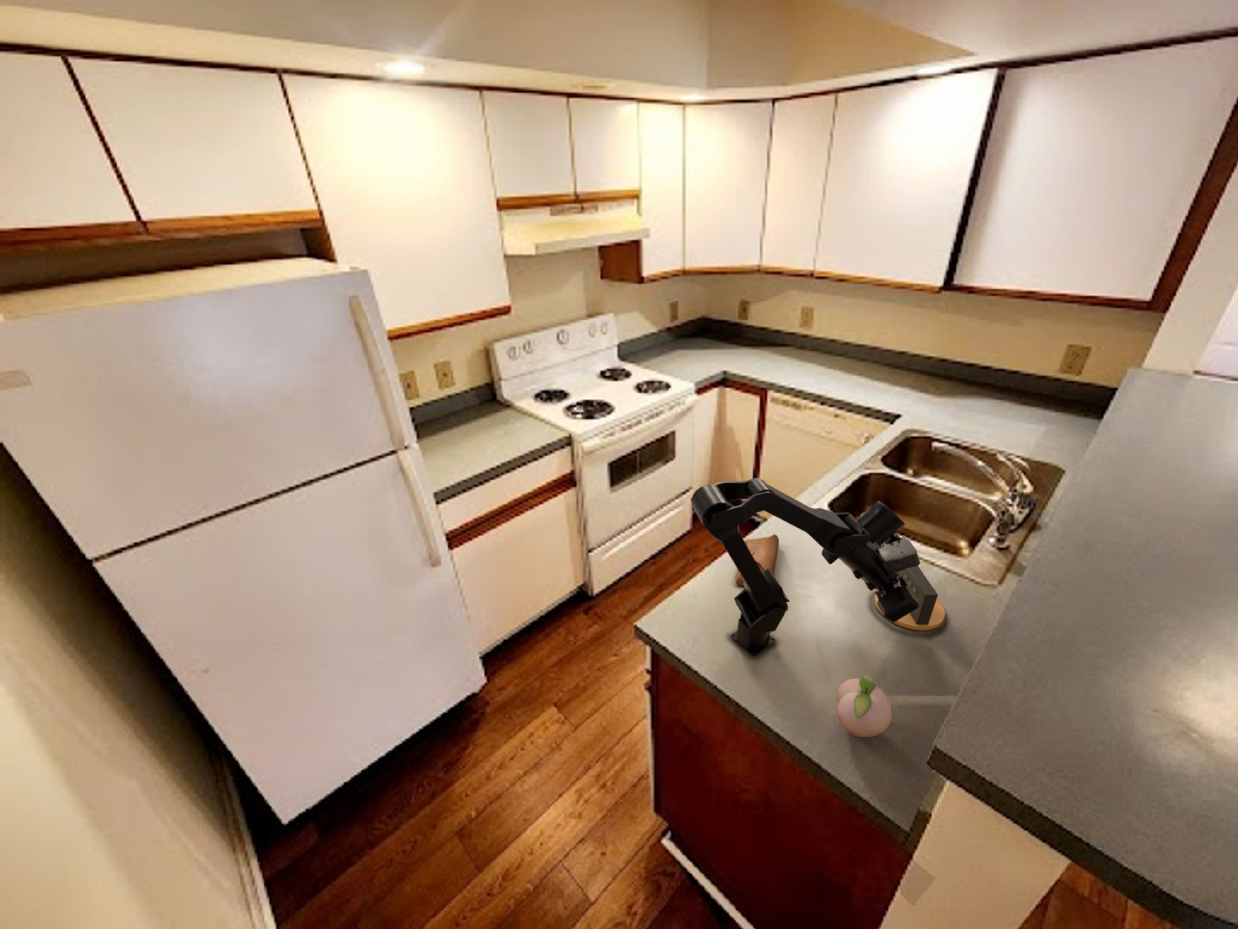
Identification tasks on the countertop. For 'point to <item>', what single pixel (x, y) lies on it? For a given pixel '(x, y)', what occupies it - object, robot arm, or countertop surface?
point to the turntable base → (904, 627)
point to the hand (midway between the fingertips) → (906, 600)
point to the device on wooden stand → (920, 602)
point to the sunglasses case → (762, 554)
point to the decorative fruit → (863, 707)
